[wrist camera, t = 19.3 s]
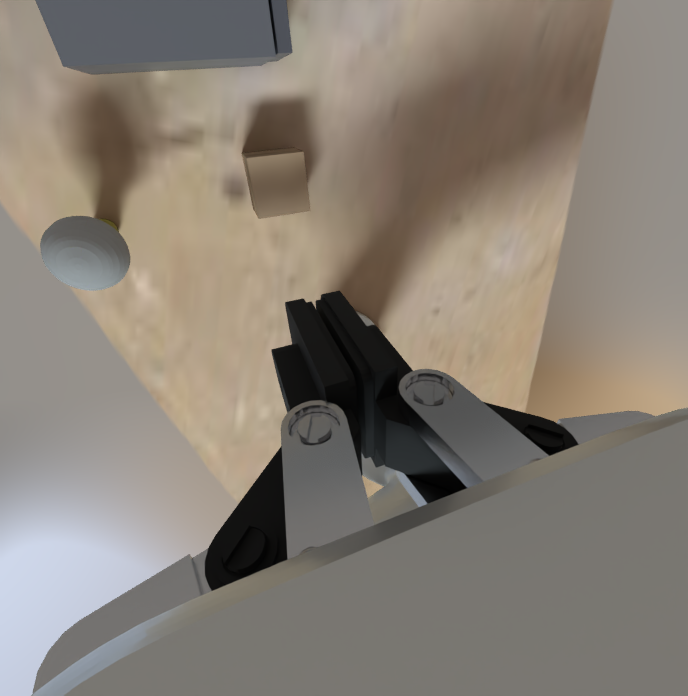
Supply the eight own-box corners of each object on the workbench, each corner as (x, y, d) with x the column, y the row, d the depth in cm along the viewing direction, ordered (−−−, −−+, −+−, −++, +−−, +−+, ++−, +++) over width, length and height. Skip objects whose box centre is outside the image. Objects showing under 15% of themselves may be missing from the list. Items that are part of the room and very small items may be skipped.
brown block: (300, 201, 36) (310, 210, 33) (253, 208, 35) (258, 218, 32) (293, 147, 33) (303, 151, 30) (241, 153, 32) (246, 158, 29)
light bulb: (123, 191, 31) (99, 219, 23) (151, 249, 34) (137, 291, 26) (56, 203, 30) (7, 237, 22) (91, 262, 33) (59, 310, 25)
